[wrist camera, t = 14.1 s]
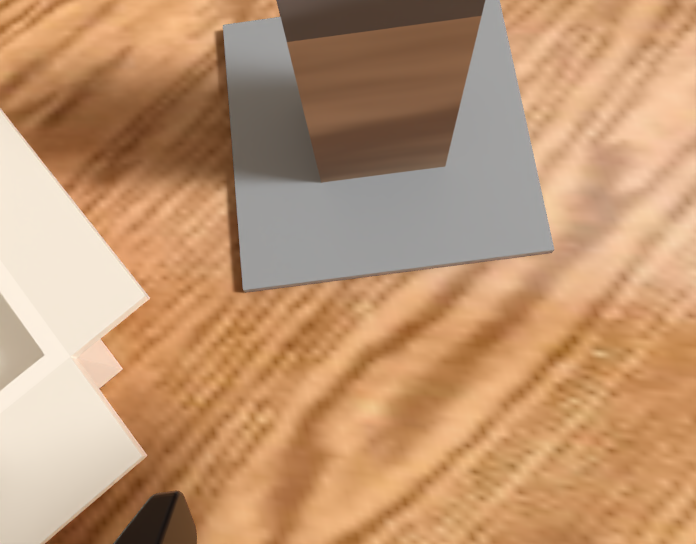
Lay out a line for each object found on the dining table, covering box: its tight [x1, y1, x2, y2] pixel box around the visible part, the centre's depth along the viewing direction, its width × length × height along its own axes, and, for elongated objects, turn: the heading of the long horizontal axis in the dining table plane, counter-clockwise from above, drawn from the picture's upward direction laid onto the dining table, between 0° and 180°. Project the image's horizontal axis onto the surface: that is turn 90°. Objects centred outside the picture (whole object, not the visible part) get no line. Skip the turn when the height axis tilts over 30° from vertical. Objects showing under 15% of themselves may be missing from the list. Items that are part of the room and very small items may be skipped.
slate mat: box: [223, 0, 554, 293], centre depth 25 cm, size 12×12×1 cm
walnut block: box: [277, 0, 485, 183], centre depth 19 cm, size 4×5×12 cm
